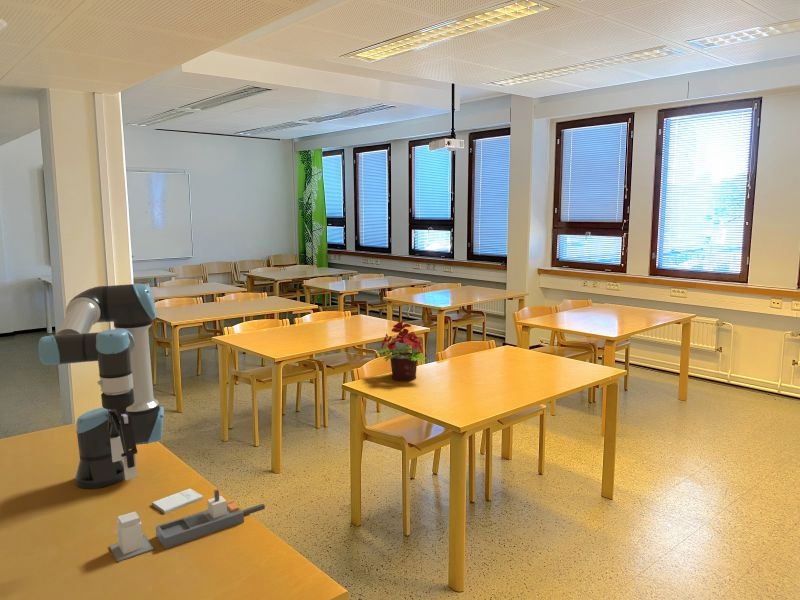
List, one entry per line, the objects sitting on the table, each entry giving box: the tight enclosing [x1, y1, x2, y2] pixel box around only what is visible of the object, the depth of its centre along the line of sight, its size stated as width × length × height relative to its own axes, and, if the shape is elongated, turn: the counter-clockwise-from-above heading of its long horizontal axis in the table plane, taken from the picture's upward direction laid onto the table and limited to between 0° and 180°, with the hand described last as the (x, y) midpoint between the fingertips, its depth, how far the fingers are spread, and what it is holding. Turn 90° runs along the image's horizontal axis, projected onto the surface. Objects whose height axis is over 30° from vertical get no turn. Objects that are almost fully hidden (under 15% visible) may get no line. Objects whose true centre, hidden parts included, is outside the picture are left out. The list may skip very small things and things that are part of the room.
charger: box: [116, 511, 144, 554], centre depth 161 cm, size 5×5×8 cm
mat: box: [108, 534, 155, 563], centre depth 162 cm, size 9×9×1 cm
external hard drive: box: [151, 487, 204, 515], centre depth 187 cm, size 2×8×12 cm
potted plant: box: [373, 321, 428, 382], centre depth 313 cm, size 30×27×30 cm
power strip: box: [155, 489, 266, 550], centre depth 172 cm, size 30×8×10 cm, turn 127°
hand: (124, 469), depth 158 cm, fingers open, 13 cm apart
